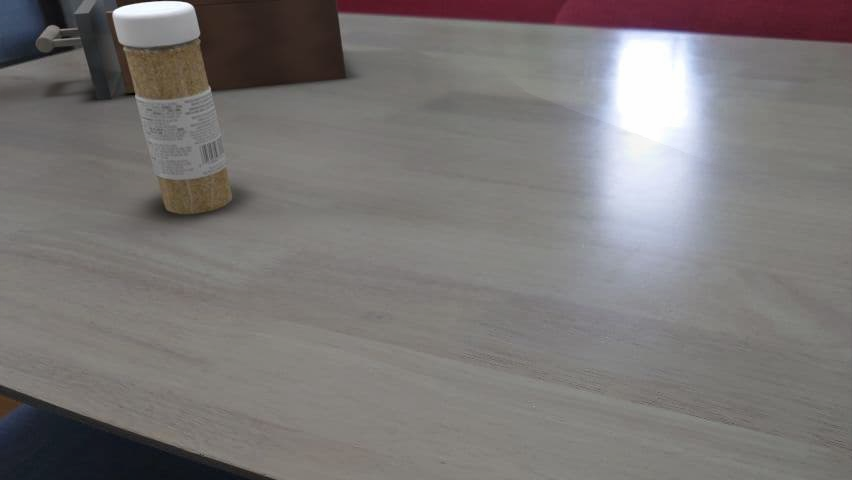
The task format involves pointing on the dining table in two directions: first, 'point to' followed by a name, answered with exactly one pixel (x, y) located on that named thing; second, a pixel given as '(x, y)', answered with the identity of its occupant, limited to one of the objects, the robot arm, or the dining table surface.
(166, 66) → the seasoning bottle
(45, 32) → the drawer
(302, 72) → the cabinet
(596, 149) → the dining table surface
